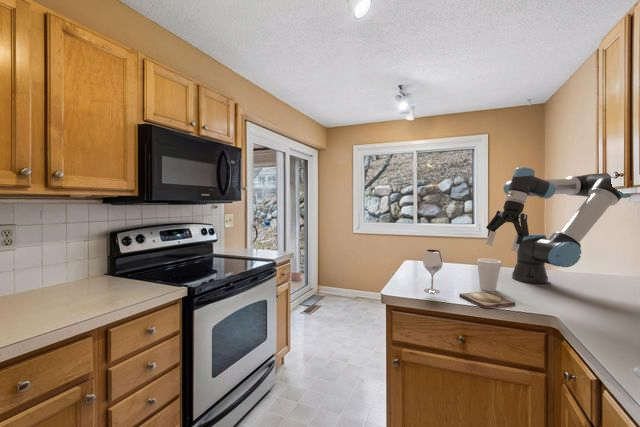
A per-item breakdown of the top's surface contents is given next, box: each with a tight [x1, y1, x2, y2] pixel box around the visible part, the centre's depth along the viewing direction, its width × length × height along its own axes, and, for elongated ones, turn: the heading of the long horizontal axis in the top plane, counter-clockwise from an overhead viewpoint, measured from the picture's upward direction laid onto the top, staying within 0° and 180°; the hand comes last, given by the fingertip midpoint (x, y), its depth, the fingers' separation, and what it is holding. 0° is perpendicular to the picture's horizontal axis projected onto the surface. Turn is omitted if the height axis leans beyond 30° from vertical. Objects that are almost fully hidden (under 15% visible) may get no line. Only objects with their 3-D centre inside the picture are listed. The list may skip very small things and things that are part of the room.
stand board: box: [459, 290, 516, 309], centre depth 127 cm, size 14×14×2 cm
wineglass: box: [422, 249, 444, 294], centre depth 138 cm, size 8×8×18 cm
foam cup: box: [476, 258, 502, 292], centre depth 142 cm, size 10×9×13 cm
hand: (500, 248), depth 139 cm, fingers open, 13 cm apart
